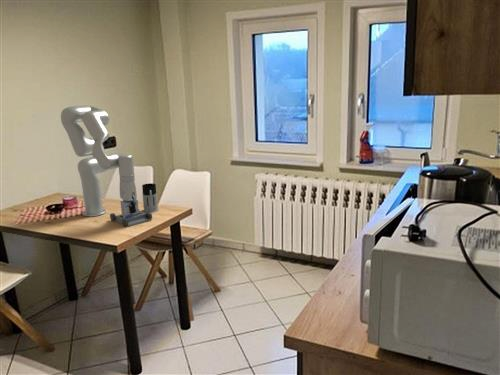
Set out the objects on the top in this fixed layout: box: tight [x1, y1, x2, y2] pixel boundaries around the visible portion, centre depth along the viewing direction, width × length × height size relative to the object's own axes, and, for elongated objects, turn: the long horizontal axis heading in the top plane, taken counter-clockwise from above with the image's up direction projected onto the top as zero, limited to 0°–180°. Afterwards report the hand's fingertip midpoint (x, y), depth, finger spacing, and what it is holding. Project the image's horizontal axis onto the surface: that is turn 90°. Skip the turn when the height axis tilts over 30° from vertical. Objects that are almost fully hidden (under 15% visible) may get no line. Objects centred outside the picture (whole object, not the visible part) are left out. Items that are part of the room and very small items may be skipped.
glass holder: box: [141, 183, 160, 214], centre depth 236 cm, size 9×14×15 cm, turn 18°
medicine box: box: [120, 199, 140, 218], centre depth 222 cm, size 8×4×9 cm, turn 131°
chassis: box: [109, 210, 153, 227], centre depth 223 cm, size 17×15×4 cm
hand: (130, 211), depth 223 cm, fingers closed on medicine box, 4 cm apart
